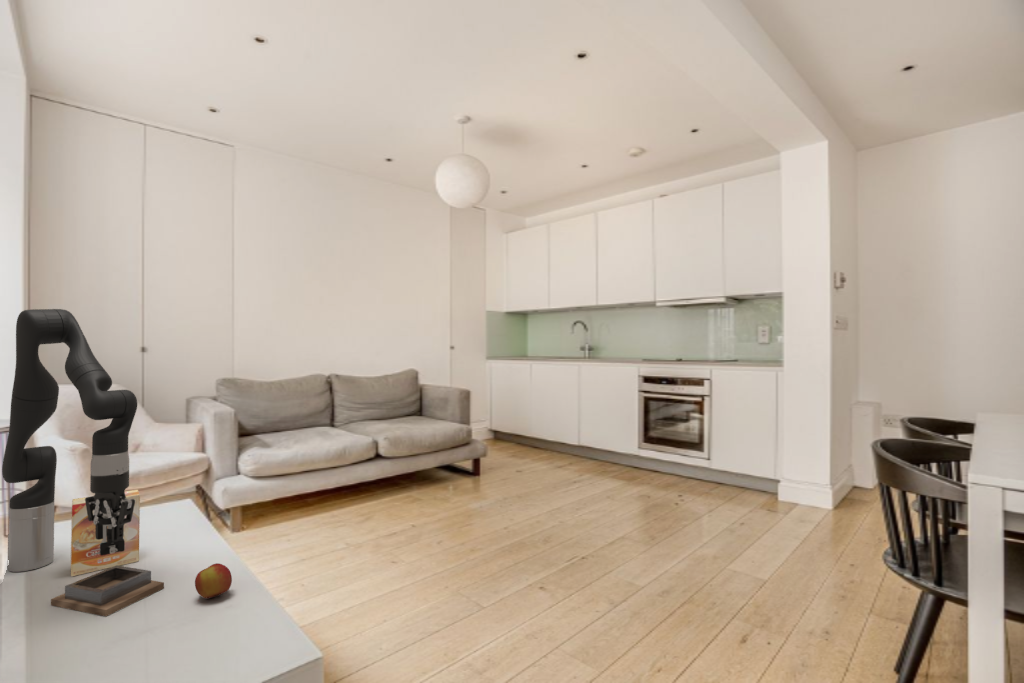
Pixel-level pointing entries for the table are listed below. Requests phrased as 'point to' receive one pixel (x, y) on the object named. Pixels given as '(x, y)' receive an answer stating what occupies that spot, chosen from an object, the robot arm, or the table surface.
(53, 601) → the mounting board
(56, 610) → the table surface
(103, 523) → the push button
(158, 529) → the table surface
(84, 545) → the coffeecake box
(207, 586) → the apple
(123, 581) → the socket
